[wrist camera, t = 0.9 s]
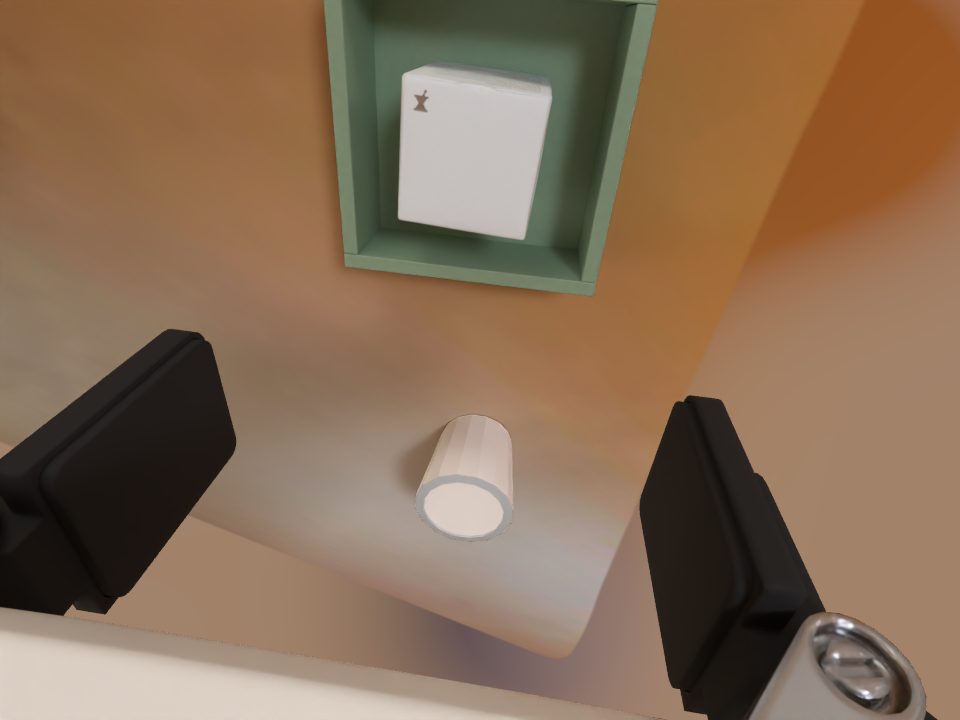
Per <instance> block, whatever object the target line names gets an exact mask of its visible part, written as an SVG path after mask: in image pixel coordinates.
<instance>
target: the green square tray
mask: <svg viewBox="0 0 960 720" xmlns="http://www.w3.org/2000/svg"><path fill="white" fill-rule="evenodd" d="M323 1H324V13H325V25H326V38H327V50H328V62H329V74H330V87H331V99H332V111H333V123H334V136H335V148H336V160H337V173H338V185H339V197H340V209H341V222H342V234H343V246H344V260H345V267H352V268H360V269H369V270H377V271H385V272H393V273H402V274H410V275H418V276H426V277H435V278H443V279H451V280H459V281H468V282H476V283H484V284H492V285H501V286H509V287H517V288H525V289H534V290H542V291H550V292H558V293H567V294H575V295H583V296H591V297H592V296H593V295H594V290H595V286H596V281H597V277H598V272H599V268H600V263H601V259H602V254H603V250H604V245H605V240H606V236H607V231H608V227H609V222H610V218H611V213H612V209H613V204H614V200H615V195H616V191H617V186H618V182H619V177H620V173H621V168H622V164H623V159H624V154H625V150H626V145H627V141H628V136H629V132H630V127H631V123H632V118H633V114H634V109H635V105H636V100H637V96H638V91H639V87H640V82H641V77H642V73H643V68H644V64H645V59H646V55H647V50H648V46H649V41H650V37H651V32H652V28H653V23H654V19H655V14H656V10H657V4H658V1H659V0H323ZM436 61H443V62H452V63H460V64H467V65H474V66H481V67H488V68H495V69H501V70H508V71H514V72H520V73H526V74H532V75H537V76H542V77H547V78H549V79H550V82H551V87H552V104H551V108H550V113H549V118H548V124H547V129H546V135H545V141H544V147H543V153H542V158H541V163H540V168H539V174H538V179H537V184H536V189H535V194H534V199H533V204H532V208H531V213H530V218H529V222H528V227H527V232H526V236H525V238H524V240H517V239H511V238H505V237H498V236H492V235H486V234H480V233H474V232H467V231H462V230H456V229H450V228H444V227H438V226H432V225H427V224H421V223H416V222H410V221H404V220H400V219H399V218H398V190H399V154H400V122H401V90H402V76H403V74H404V73H406V72H409V71H412V70H414V69H417V68H420V67H422V66H425V65H428V64H431V63H433V62H436Z"/></svg>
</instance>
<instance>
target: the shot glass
mask: <svg viewBox="0 0 960 720" xmlns="http://www.w3.org/2000/svg"><path fill="white" fill-rule="evenodd" d="M415 509H416V511H417V513H418V514H419V516H420V518H421V520H422V522H424V523H425V524H426V525H427V526H428V527H430V528H431V529H432V530H433V531H434V532H436V533H439V534H441V535H443V536H446V537H448V538H450V539H454V540H461V541H467V542H474V541H484V540H489V539H491V538H493V537H496V536H498V535H500V534H502V533H503V532H504V531H505V530H506V529H507V528H508V527H509V525H510V524H511V521H512V516H513V477H512V442H511V439H510V436H509V433H508V431H507V430H506V429H505V428H504V427H503V426H502V425H501V424H500V423H499V422H497V421H495V420H493V419H491V418H489V417H487V416H481V415H474V414H471V415H465V416H459V417H457V418H456V419H454V420H452V421H451V422H449V423H448V424H447V426H446V427H445V429H444V430H443V432H442V434H441V437H440V439H439V442H438V444H437V446H436V449H435V451H434V453H433V456H432V458H431V460H430V463H429V465H428V468H427V470H426V472H425V475H424V477H423V479H422V482H421V484H420V486H419V489H418V491H417V494H416V500H415Z"/></svg>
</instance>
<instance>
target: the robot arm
mask: <svg viewBox="0 0 960 720" xmlns="http://www.w3.org/2000/svg"><path fill="white" fill-rule="evenodd" d="M235 447H236V436H235V432H234V429H233V425H232V421H231V417H230V413H229V410H228V406H227V402H226V398H225V394H224V391H223V387H222V383H221V379H220V375H219V372H218V368H217V364H216V360H215V356H214V353H213V349H212V346H211V344H210V343H209V342H208V341H206V340H205V339H204V337H203V336H202V335H201V334H200V333H198V332H191V331H183V330H175V329H168V330H166V331H164V332H162V333H161V334H160V335H159V336H157V337H156V338H155V339H153V340H152V341H151V342H150V343H148V344H147V345H146V346H144V347H143V348H142V349H141V350H139V351H138V352H137V353H135V354H134V355H133V356H132V357H130V358H129V359H128V360H126V361H125V362H124V363H123V364H121V365H120V366H119V367H117V368H116V369H115V370H114V371H112V372H111V373H110V374H109V375H107V376H106V377H105V378H103V379H102V380H101V381H100V382H98V383H97V384H96V385H94V386H93V387H92V388H91V389H89V390H88V391H87V392H85V393H84V394H83V395H82V396H80V397H79V398H78V399H76V400H75V401H74V402H73V403H71V404H70V405H69V406H67V407H66V408H65V409H64V410H62V411H61V412H60V413H59V414H57V415H56V416H55V417H53V418H52V419H51V420H50V421H48V422H47V423H46V424H44V425H43V426H42V427H41V428H39V429H38V430H37V431H35V432H34V433H33V434H32V435H30V436H29V437H28V438H26V439H25V440H24V441H23V442H21V443H20V444H19V445H17V446H16V447H15V448H14V449H12V450H11V451H10V452H9V453H7V454H6V455H5V456H3V457H2V458H1V459H0V720H665V719H660V718H655V717H649V716H644V715H639V714H634V713H628V712H623V711H618V710H613V709H608V708H603V707H596V706H592V705H587V704H581V703H576V702H571V701H566V700H561V699H554V698H549V697H544V696H538V695H532V694H526V693H520V692H515V691H509V690H503V689H497V688H492V687H485V686H480V685H474V684H468V683H463V682H456V681H451V680H445V679H440V678H433V677H428V676H422V675H416V674H411V673H405V672H399V671H393V670H387V669H381V668H375V667H369V666H363V665H358V664H352V663H346V662H340V661H334V660H328V659H322V658H316V657H310V656H303V655H298V654H292V653H286V652H280V651H274V650H268V649H262V648H256V647H250V646H244V645H238V644H232V643H226V642H220V641H214V640H208V639H202V638H195V637H189V636H183V635H177V634H171V633H165V632H158V631H153V630H146V629H140V628H134V627H128V626H122V625H115V624H109V623H103V622H97V621H91V620H85V619H78V618H72V617H66V616H64V614H65V612H66V611H67V610H68V609H69V608H70V607H71V605H72V604H73V605H74V607H75V608H76V609H77V610H82V611H88V612H94V613H100V614H106V613H107V612H108V610H109V609H110V608H111V606H112V605H113V604H114V603H115V601H116V600H117V599H118V597H122V596H125V595H126V594H127V593H129V591H130V590H131V589H132V588H133V587H134V585H135V584H136V583H137V581H138V580H139V579H140V577H141V576H142V575H143V573H144V572H145V571H146V570H147V568H148V567H149V566H150V564H151V563H152V562H153V560H154V558H156V556H157V555H158V553H159V552H160V551H161V549H162V548H163V547H164V546H165V544H166V543H167V542H168V540H169V539H170V538H171V536H172V535H173V534H174V532H175V531H176V529H177V528H178V527H179V526H180V524H181V523H182V522H183V520H184V519H185V518H186V516H187V515H188V514H189V512H190V511H191V510H192V508H193V507H194V506H195V504H196V503H197V502H198V500H199V499H200V498H201V496H202V495H203V494H204V492H205V491H206V490H207V488H208V487H209V486H210V484H211V483H212V482H213V480H214V479H215V478H216V476H217V475H218V474H219V472H220V471H221V470H222V468H223V467H224V466H225V464H226V463H227V462H228V460H229V459H230V458H231V456H232V455H233V453H234V451H235ZM640 518H641V523H642V529H643V534H644V540H645V546H646V552H647V558H648V563H649V569H650V575H651V581H652V586H653V592H654V598H655V603H656V609H657V614H658V621H659V626H660V632H661V638H662V643H663V649H664V655H665V661H666V666H667V672H668V677H669V681H670V683H671V686H672V687H673V688H676V689H680V691H681V696H682V701H683V706H684V711H689V712H694V713H700V714H706V715H707V716H708V720H937V719H936V718H934V717H933V716H932V715H931V714H930V713H928V712H927V711H926V695H925V692H924V688H923V686H922V683H921V680H920V678H919V676H918V674H917V673H916V671H915V670H914V668H913V667H912V665H911V663H910V662H909V660H908V659H907V658H906V657H905V656H904V655H903V654H902V653H901V652H900V651H899V649H898V648H897V647H896V646H895V645H894V644H893V643H892V642H890V641H889V640H888V639H887V638H885V637H884V636H883V635H882V634H880V633H879V632H878V631H876V630H875V629H874V628H871V627H870V626H868V625H866V624H865V623H863V622H861V621H859V620H857V619H855V618H852V617H849V616H846V615H843V614H840V613H832V612H826V611H825V608H824V606H823V604H822V602H821V600H820V598H819V595H818V593H817V591H816V589H815V587H814V585H813V583H812V580H811V578H810V576H809V574H808V572H807V570H806V568H805V565H804V563H803V561H802V559H801V557H800V554H799V552H798V550H797V548H796V546H795V544H794V542H793V539H792V538H791V535H790V533H789V531H788V529H787V526H786V524H785V522H784V520H783V518H782V516H781V514H780V511H779V509H778V507H777V505H776V503H775V501H774V498H773V496H772V494H771V492H770V490H769V488H768V486H767V484H766V482H765V480H764V479H763V477H762V476H760V475H759V474H757V473H754V471H753V469H752V467H751V464H750V462H749V460H748V458H747V456H746V453H745V451H744V449H743V447H742V444H741V442H740V440H739V438H738V435H737V433H736V431H735V429H734V426H733V424H732V422H731V420H730V417H729V416H728V413H727V411H726V408H725V406H724V404H723V402H722V401H721V400H719V399H715V398H707V397H699V396H691V395H690V396H687V397H686V399H685V400H684V402H679V401H678V402H676V403H675V404H674V406H673V409H672V411H671V414H670V417H669V420H668V423H667V425H666V428H665V431H664V434H663V436H662V439H661V442H660V445H659V448H658V450H657V453H656V456H655V459H654V461H653V464H652V467H651V470H650V472H649V475H648V478H647V481H646V484H645V486H644V489H643V492H642V495H641V499H640Z"/></svg>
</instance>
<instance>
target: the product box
mask: <svg viewBox="0 0 960 720" xmlns="http://www.w3.org/2000/svg"><path fill="white" fill-rule="evenodd" d="M551 104H552V87H551V82H550V79H549V78H547V77H542V76H537V75H532V74H526V73H520V72H514V71H508V70H501V69H495V68H488V67H481V66H474V65H467V64H460V63H452V62H443V61H436V62H433V63H431V64H428V65H425V66H422V67H420V68H417V69H414V70H412V71H409V72H406V73H404V74H403V76H402V90H401V122H400V154H399V190H398V218H399V219H400V220H404V221H410V222H416V223H421V224H427V225H432V226H438V227H444V228H450V229H456V230H462V231H467V232H474V233H480V234H486V235H492V236H498V237H505V238H511V239H517V240H524V238H525V236H526V232H527V227H528V222H529V218H530V213H531V208H532V204H533V199H534V194H535V189H536V184H537V179H538V174H539V168H540V163H541V158H542V153H543V147H544V141H545V135H546V129H547V124H548V118H549V113H550V108H551Z"/></svg>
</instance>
